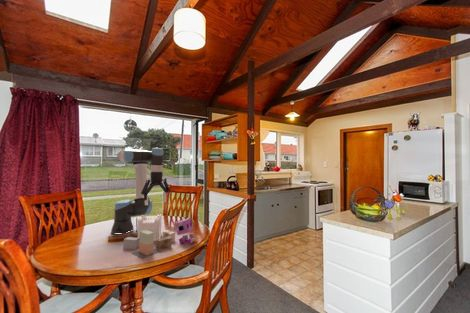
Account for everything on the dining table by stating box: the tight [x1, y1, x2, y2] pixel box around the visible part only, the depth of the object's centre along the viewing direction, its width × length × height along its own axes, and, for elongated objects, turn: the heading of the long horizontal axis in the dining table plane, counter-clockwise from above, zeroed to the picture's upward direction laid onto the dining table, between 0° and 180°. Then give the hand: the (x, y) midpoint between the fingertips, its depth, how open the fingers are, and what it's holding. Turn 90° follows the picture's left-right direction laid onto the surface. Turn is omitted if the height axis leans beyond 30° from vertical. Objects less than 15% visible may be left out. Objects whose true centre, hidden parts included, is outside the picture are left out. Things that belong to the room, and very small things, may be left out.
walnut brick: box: [155, 236, 172, 251], centre depth 137 cm, size 8×4×6 cm, turn 130°
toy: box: [174, 217, 196, 245], centre depth 149 cm, size 11×8×15 cm
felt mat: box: [130, 248, 162, 260], centre depth 129 cm, size 12×12×1 cm
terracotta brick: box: [138, 242, 154, 255], centre depth 129 cm, size 8×4×6 cm, turn 55°
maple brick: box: [162, 229, 176, 243], centre depth 150 cm, size 8×4×6 cm, turn 55°
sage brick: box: [140, 230, 155, 245], centre depth 129 cm, size 8×4×6 cm, turn 56°
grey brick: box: [123, 236, 140, 250], centre depth 136 cm, size 8×4×6 cm, turn 85°
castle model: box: [137, 213, 163, 242], centre depth 153 cm, size 14×14×15 cm
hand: (155, 203), depth 144 cm, fingers open, 13 cm apart
